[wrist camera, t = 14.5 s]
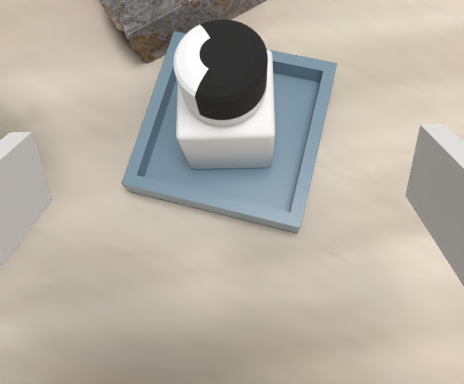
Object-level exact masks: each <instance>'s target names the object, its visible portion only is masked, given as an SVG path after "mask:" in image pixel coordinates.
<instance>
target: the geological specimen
mask: <svg viewBox="0 0 464 384" xmlns="http://www.w3.org/2000/svg"><path fill="white" fill-rule="evenodd" d="M265 1H266V0H101V2H102V5H103V6H104V8H105V11H106V13H107V14H108V16H109V17H110V19H111V22H112V23H113V24H114V25H115V27H116V28H117V30H118V31H123V32H124V33H125V37H126V38H127V39H128V40H129V43H130V44H131V46H132V48H133V49H134V50H135V51H136V52H137V53H138V54H139V55H141V56H142V58H143V59H144V60H145V61H146V62H147V63H150V62H153V61H154V60H156V59H158V58H160V57H162V56H164V55H166V53H167V50H168V47H169V44H170V41H171V38H172V35H173V32H174V31H176V32H181V33H186V34H187V33H188V32H189V31H190V30H192V29H193V28H194V27H196V26H198V25H200V24H202V23H205V22H208V21H212V20H221V19H224V20H231V19H233V18H235V17H237V16H238V15H240V14H242V13H244V12H246V11H248V10H250V9H252V8H253V7H255V6H257V5H259V4H261V3H263V2H265Z"/></svg>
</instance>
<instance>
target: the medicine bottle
mask: <svg viewBox="0 0 464 384" xmlns="http://www.w3.org/2000/svg"><path fill="white" fill-rule="evenodd" d="M173 64H174V71H175V75H176V78H177V81H178V90H177V121H176V138H177V140H178V142H179V145H180V147H181V149H182V151H183V153H184V155H185V158H186V160H187V162H188V164H189V166H190V168H191V169H224V168H268V167H270V166H271V164H272V157H273V148H274V139H275V114H274V87H273V59H272V52H271V51H270V50H266V47H265V44H264V42H263V40H262V39H261V37H260V36H259V35H258V34H257V33H256V32H255V31H254V30H253V29H251V28H250V27H248V26H247V25H245V24H243V23H240V22H237V21H233V20H224V19H221V20H212V21H208V22H205V23H202V24H200V25H198V26H196V27H194V28H193V29H192V30H190V31H189V32H188V33H187V34H186V35H185V36H184V37H183V38H182V39H181V41H180V42H179V44H178V46H177V48H176V51H175V54H174V62H173Z"/></svg>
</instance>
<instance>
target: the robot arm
mask: <svg viewBox="0 0 464 384" xmlns="http://www.w3.org/2000/svg"><path fill="white" fill-rule="evenodd" d="M406 197H407V199H408V200H409V202H410V203H411V205H412V207H413V208H414V210H415V211H416V213H417V214H418V216H419V217H420V219H421V221H422V222H423V224H424V225H425V227H426V228H427V230H428V231H429V233H430V234H431V236H432V238H433V239H434V241H435V242H436V244H437V245H438V247H439V248H440V250H441V252H442V253H443V255H444V256H445V258H446V259H447V261H448V262H449V264H450V266H451V267H452V269H453V270H454V272H455V273H456V275H457V276H458V278H459V280H460V281H461V283H462V284H463V286H464V142H463V141H462V140H461V139H460V138H459V137H458V136H457V135H455V134H454V133H453V132H452V131H451V130H450V129H449V128H448V127H447V126H445V125H444V124H420V128H419V133H418V138H417V143H416V148H415V152H414V157H413V162H412V167H411V172H410V176H409V181H408V186H407V191H406ZM51 201H52V199H51V195H50V192H49V188H48V185H47V181H46V178H45V175H44V171H43V168H42V164H41V161H40V157H39V154H38V150H37V147H36V143H35V140H34V136H33V133H32V132H10V133H9V134H7V135H6V136H5V137H4V138H2V139H1V140H0V269H1V268H2V266H3V265H4V264H5V262H6V261H7V260H8V258H9V257H10V256H11V254H12V253H13V252H14V250H15V249H16V248H17V246H18V245H19V243H20V242H21V241H22V239H23V238H24V237H25V235H26V234H27V233H28V231H29V230H30V229H31V227H32V226H33V225H34V223H35V222H36V221H37V219H38V218H39V217H40V215H41V214H42V213H43V211H44V210H45V209H46V207H47V206H48V205H49V203H50V202H51Z"/></svg>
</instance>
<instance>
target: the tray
mask: <svg viewBox="0 0 464 384" xmlns="http://www.w3.org/2000/svg"><path fill="white" fill-rule="evenodd" d="M185 35H186V33H181V32H176V31H174V32H173V35H172V38H171V41H170V44H169V47H168V50H167V53H166V56H165V58H164V61H163V64H162V67H161V70H160V73H159V76H158V79H157V82H156V85H155V88H154V90H153V93H152V96H151V99H150V102H149V105H148V108H147V111H146V114H145V117H144V120H143V122H142V125H141V128H140V131H139V134H138V137H137V140H136V143H135V146H134V149H133V152H132V154H131V157H130V160H129V163H128V166H127V169H126V172H125V175H124V178H123V181H122V185H123V186H124V187H126V188H127V189H128V190H129V191H130V192H133V193H137V194H141V195H145V196H149V197H153V198H157V199H161V200H165V201H169V202H173V203H177V204H181V205H185V206H189V207H193V208H197V209H202V210H206V211H210V212H214V213H218V214H222V215H226V216H230V217H234V218H238V219H242V220H246V221H250V222H254V223H258V224H262V225H266V226H270V227H274V228H278V229H282V230H286V231H290V232H294V233H297V232H298V230H299V229H300V226H301V221H302V217H303V212H304V208H305V203H306V199H307V195H308V190H309V186H310V181H311V177H312V172H313V168H314V164H315V159H316V155H317V150H318V146H319V141H320V137H321V133H322V128H323V124H324V119H325V115H326V110H327V106H328V101H329V97H330V93H331V88H332V84H333V79H334V75H335V70H336V66H337V63H333V62H328V61H323V60H318V59H313V58H308V57H303V56H297V55H292V54H287V53H282V52H277V51H272V50H270V51H271V52H272V59H273V87H274V114H275V139H274V148H273V157H272V164H271V166H270V167H268V168H224V169H191V168H190V166H189V164H188V162H187V160H186V158H185V155H184V153H183V151H182V149H181V147H180V145H179V142H178V140H177V138H176V121H177V90H178V81H177V78H176V75H175V71H174V64H173V62H174V54H175V51H176V48H177V46H178V44H179V42H180V41H181V39H182V38H183V37H184V36H185ZM266 50H267V49H266Z"/></svg>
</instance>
